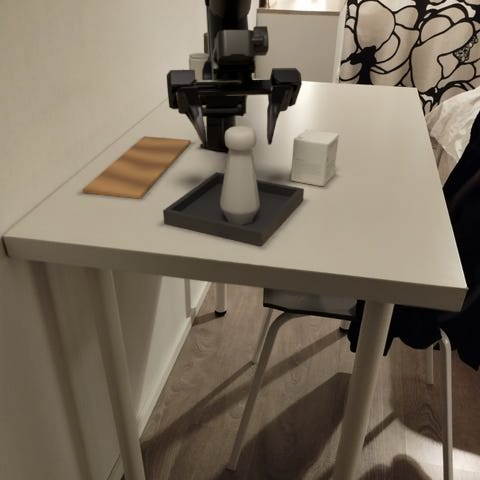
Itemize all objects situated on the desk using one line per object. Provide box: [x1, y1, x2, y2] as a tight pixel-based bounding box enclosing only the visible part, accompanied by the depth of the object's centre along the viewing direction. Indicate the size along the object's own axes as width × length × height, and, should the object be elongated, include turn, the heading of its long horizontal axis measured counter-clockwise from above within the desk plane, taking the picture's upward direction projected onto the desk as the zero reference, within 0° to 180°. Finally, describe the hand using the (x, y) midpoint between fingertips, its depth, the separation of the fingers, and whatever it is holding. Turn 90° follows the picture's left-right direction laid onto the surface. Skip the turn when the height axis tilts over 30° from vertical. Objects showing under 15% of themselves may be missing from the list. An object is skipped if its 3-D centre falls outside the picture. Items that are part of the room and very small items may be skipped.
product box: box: [290, 129, 340, 187], centre depth 88 cm, size 6×6×7 cm
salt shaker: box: [220, 125, 260, 225], centre depth 72 cm, size 6×6×13 cm
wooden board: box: [82, 135, 191, 199], centre depth 95 cm, size 28×10×1 cm, turn 168°
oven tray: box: [162, 171, 305, 247], centre depth 79 cm, size 17×16×2 cm
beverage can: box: [188, 52, 209, 107], centre depth 119 cm, size 5×5×12 cm
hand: (237, 144), depth 73 cm, fingers open, 9 cm apart
